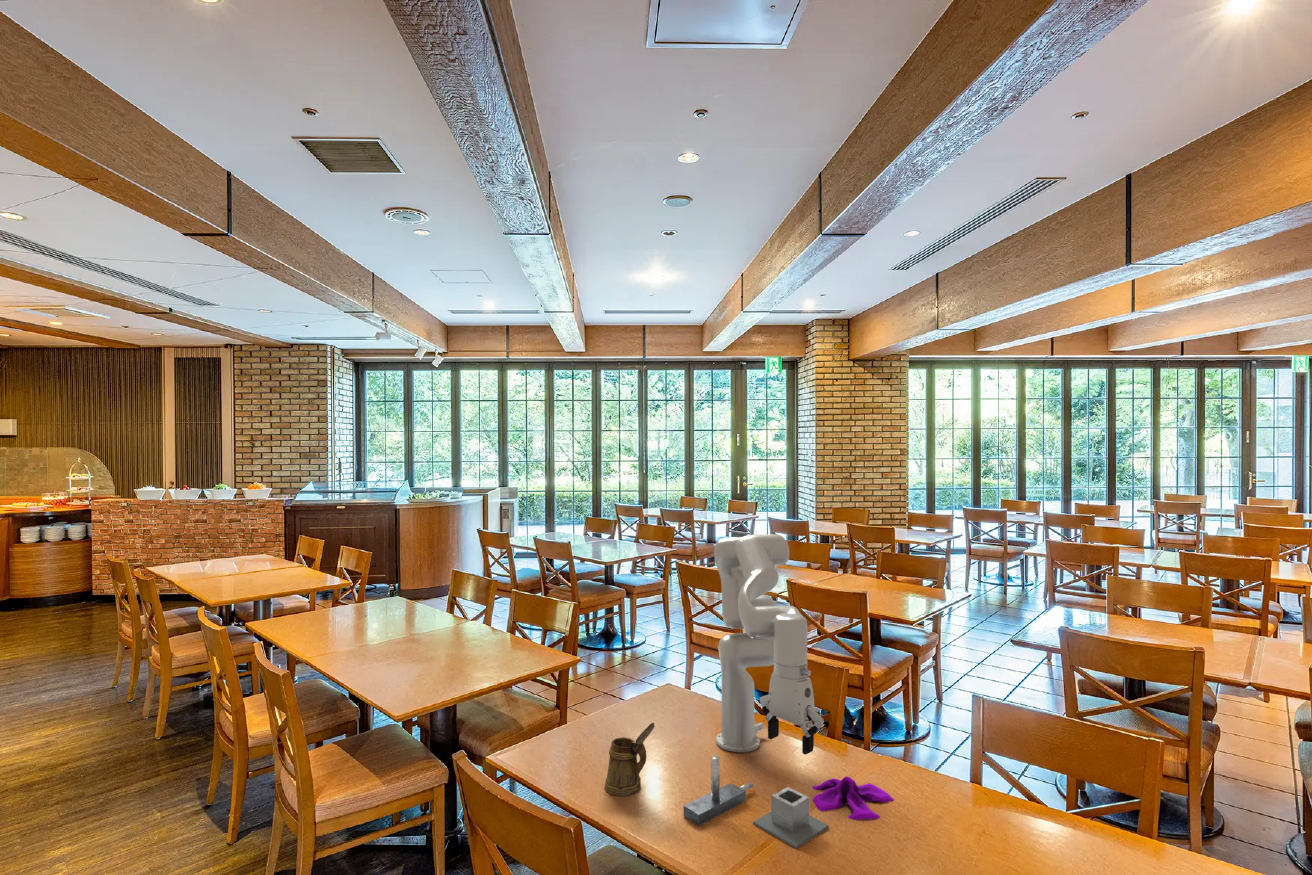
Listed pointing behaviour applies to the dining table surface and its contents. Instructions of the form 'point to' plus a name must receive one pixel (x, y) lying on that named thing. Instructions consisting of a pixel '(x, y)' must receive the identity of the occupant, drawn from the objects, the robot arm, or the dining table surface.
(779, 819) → the steel collar
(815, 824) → the slate pad
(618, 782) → the wooden mug
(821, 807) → the cloth
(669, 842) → the dining table surface
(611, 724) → the dining table surface
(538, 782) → the dining table surface
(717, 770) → the block
